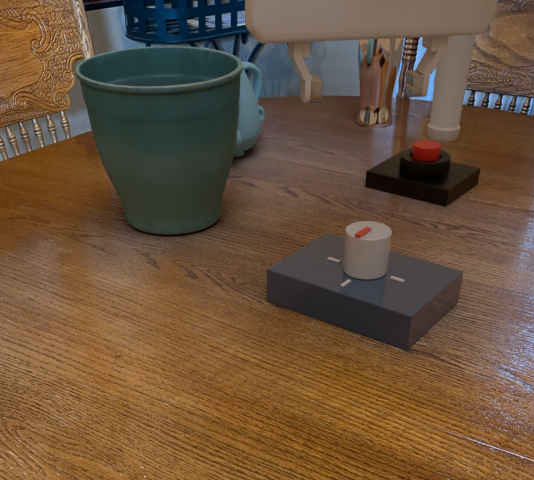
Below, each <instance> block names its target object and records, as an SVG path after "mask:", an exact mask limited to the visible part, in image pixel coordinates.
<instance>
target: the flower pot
mask: <svg viewBox="0 0 534 480" xmlns="http://www.w3.org/2000/svg"><path fill="white" fill-rule="evenodd" d="M206 48H207V47H197V46H180V45H159V46H157V45H156V46H140V47H131V48H130V47H129V48H124V49H117V50H112V51H107V52H103V53H99V54H96V55H91V56H89V57H88V58H85V59H84V60H82V61H80V62H79V63H77V65H76V67H75V74H76V78H77V79H78V81H79V85H80V89H81V94H82V98H83V102H84V104H85V108H86V111H87V116H88V121H89V125H90V129H91V132H92V136H93V140H94V144H95V147H96V150H97V154H98V157H99V159H100V161H101V164H102V166H103V168H104V170H105V172H106V174H107V176H108V179H109V180H110V182H111V184H112V187H113V189H114V190H115V193H116V194H117V196H118V199H119V201H120V203H121V206H122V208H123V209H122V210H123V212H124V213H123V216H124V219H125V221H126V222H127V223H128V225H130V226H131V227H133V228H134V229H136V230H139V231H141V232H144V233H148V234H154V235H166V236H167V235H171V236H172V235H174V236H175V235H184V234H190V233H191V234H192V233H195V232H199V231H201V230H204V229H207V228H208V227H211V226H212V225H214V224H215V223H216V222H218V221H219V219H220V218H221V216H222V213H223V211H222V210H223V209H222V202H223V197H224V193H225V189H226V186H227V182H228V179H229V175H230V172H231V169H232V166H233V161H234V158H235V157H234V153H235V147H236V140H237V128H238V107H239V96H240V77H241V73H242V70H243V64H242V62H243V61H242V60H241V58H239V57H237V55H234V54H231V53H229V52H226V51H224V50H219V49H213V48H210V49H206Z"/></svg>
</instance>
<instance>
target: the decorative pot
mask: <svg viewBox="0 0 534 480" xmlns="http://www.w3.org/2000/svg"><path fill="white" fill-rule="evenodd" d="M205 48H206V49H211V48H209V47H205ZM242 64H243V70H242V73H241V77H240V96H239V107H238V128H237V140H236V147H235V153H234V157H233V158H237V157H243V156H244V155H245V151H247V150H249V149H251V148H253V147H254V145H255V143H256V142H257V140H258V138H259V137H260V134H261V130H262V123H263V121H264V120H265V116H266V112H265V109H264V107H263V106H261V105H260V104H259V99H260V96H261V91H262V88H263V74H262V72H261V70H260V68H259V67H258V66H257V65H256V64H254V63H253V62H250V61H242ZM247 70H249V71H251V72H252V75H253V83H252V84H251V81H250V80H249V77H248V74H247V73H246V71H247Z"/></svg>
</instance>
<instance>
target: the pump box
mask: <svg viewBox="0 0 534 480" xmlns="http://www.w3.org/2000/svg"><path fill="white" fill-rule="evenodd" d="M412 151H413V147H412V148H407V149H405V150H403V151H402V150H401V151H400V152H398V153H396V154H394V155H393V156H390V157H389V158H387V159H386V160H384V161H382V162H380V163H378V164H375V166H373V167H371V168H369V169H368V170H366V171H365V181H364V184H365V185H364V188H367V189H371V190H374V191H379V192H384V193H388V194H391V195H395V196H399V197H404V198H408V199H412V200H417V201H421V202H424V203H428V204H432V205H436V206H440V207H445V208H446V207H448V206H449V205H451V204H452V203H454V202H455V201H457V200H458V199H459V198H461V197H462V196H463V195H464V194H467V192H469V191H470V190H472V189H473V188H475V187H476V186H477V185H479V179H480V173H481V167H478V166H472V165H467V164H464V163H463V164H462V163H460V162H459V163H458V162H453V161H452V157H451V153H449V152H446V151H445V150H442V149H441V150H440V157H439V159H438V160H434V161H422V160H417V159H414V158H412Z"/></svg>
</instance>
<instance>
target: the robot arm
mask: <svg viewBox="0 0 534 480" xmlns="http://www.w3.org/2000/svg"><path fill="white" fill-rule="evenodd" d="M498 1H499V0H244V24H245V27H246V29H247V31H248V33H249V34H250V35H251V36H252V37H253V39H255V40H256V41H257V42H258V43H260V44H284V43H285V44H287V54H288V56H289V58H290V60H291V62H292V65H293V67H294V69H295V70H296V73H297V75H298V76H299V79H300V80H299V98H300V102H302V104H313V103H321V102H322V93H321V91H322V90H323V79H322V78H321V77H320V76H319V75H317V74H311V73H310V70H309V68H308V66H307V64H306V61H305V59H304V58H310V57H311V47H312V46H311V43H313V42H336V41H359V40H363V39H388V38H404V39H407V38H408V39H409V38H410V39H411V38H412V39H413V38H422V41H421V46H422V47H423V48H425V49H426V50H425V52H424V54H423V55H422V57H421V59H420V60H419V62H418V64H417V66H416V68H415V69H412V70H406V73H405V81H406V82H405V84H404V94H405V95H406V96H407V97H409V98H424V97H426V96H427V95H428V91H429V83H430V78H431V77H430V76H431V75H432V74H433V73H434V72H435V70H436V68H437V65H438V63H439V62H440V60H441V59H442V57H443V56H444V54H445V53H446V49H447V43H448V36H460V35H476V36H480V35H483V34H484V33H485V31H486V30H487V29H488V28H489V26H490V25H491V24H492V22H494V21H493V20H494V19H495V16H496V12H497V6H498Z"/></svg>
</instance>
